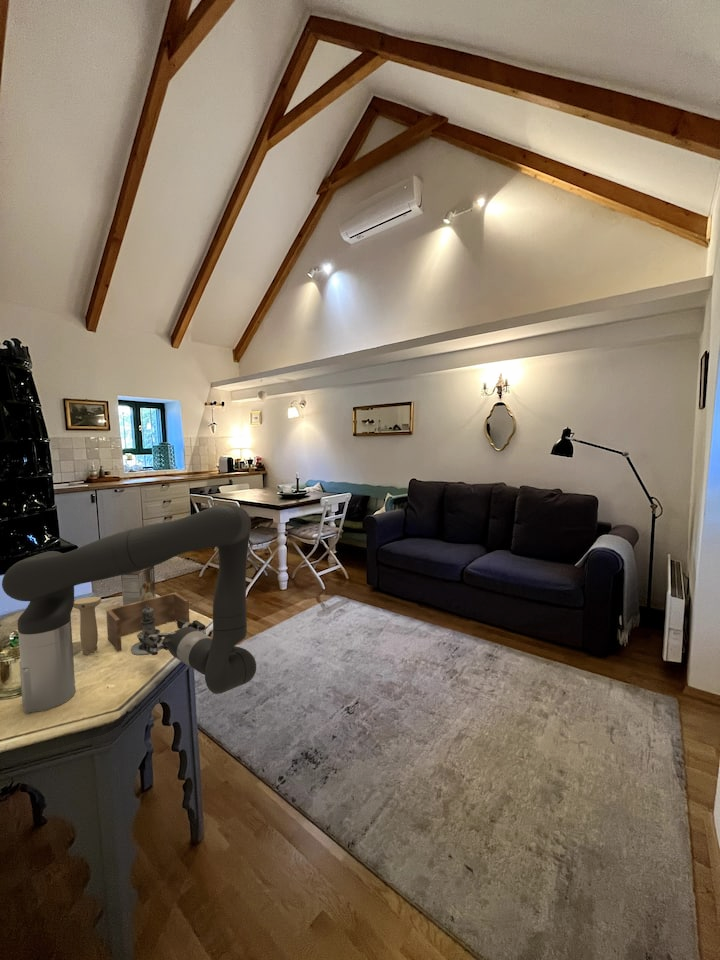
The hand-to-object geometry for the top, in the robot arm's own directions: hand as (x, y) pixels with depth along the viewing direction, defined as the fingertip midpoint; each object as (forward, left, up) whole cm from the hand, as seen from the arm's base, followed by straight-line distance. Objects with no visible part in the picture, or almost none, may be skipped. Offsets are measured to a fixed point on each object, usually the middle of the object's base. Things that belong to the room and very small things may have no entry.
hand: (162, 628), depth 105 cm
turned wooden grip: (-13, +18, -8) cm, 24 cm away
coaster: (-1, +10, -8) cm, 13 cm away
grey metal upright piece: (-1, +9, -8) cm, 12 cm away
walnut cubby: (+2, +18, -8) cm, 20 cm away
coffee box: (+5, +36, -8) cm, 37 cm away
